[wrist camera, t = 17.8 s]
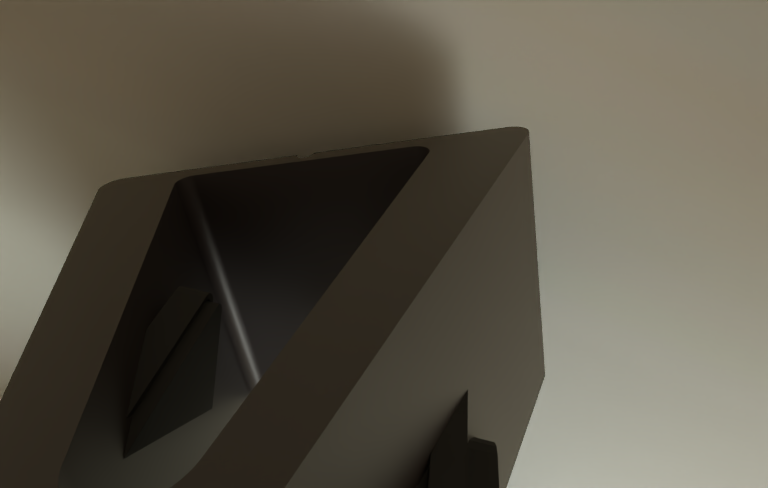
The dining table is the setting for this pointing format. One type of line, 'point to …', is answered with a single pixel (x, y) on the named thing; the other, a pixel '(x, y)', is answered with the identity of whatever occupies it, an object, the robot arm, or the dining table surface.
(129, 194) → the phone stand
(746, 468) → the dining table surface
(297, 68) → the dining table surface
